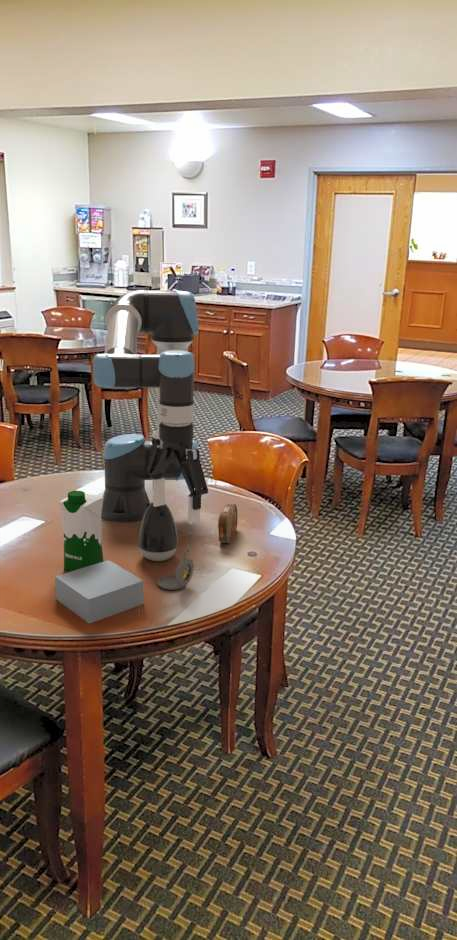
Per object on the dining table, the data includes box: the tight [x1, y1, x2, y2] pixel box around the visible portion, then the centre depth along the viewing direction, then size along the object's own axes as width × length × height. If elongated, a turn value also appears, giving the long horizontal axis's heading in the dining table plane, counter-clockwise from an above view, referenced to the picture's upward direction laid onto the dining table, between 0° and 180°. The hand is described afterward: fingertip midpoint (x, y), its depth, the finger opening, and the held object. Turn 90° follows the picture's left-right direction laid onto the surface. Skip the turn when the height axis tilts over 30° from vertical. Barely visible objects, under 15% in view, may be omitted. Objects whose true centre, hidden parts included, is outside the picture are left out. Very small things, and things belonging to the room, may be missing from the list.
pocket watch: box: [157, 548, 194, 591], centre depth 169 cm, size 8×8×10 cm
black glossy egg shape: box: [137, 501, 179, 562], centre depth 184 cm, size 10×10×15 cm
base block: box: [54, 559, 145, 624], centre depth 162 cm, size 14×14×6 cm
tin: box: [217, 503, 238, 544], centre depth 199 cm, size 15×3×8 cm, turn 168°
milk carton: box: [58, 490, 104, 572], centre depth 176 cm, size 9×9×20 cm
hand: (176, 513), depth 165 cm, fingers open, 13 cm apart
